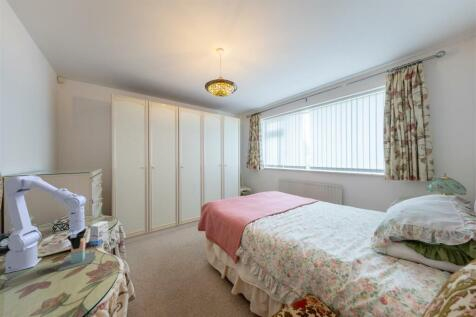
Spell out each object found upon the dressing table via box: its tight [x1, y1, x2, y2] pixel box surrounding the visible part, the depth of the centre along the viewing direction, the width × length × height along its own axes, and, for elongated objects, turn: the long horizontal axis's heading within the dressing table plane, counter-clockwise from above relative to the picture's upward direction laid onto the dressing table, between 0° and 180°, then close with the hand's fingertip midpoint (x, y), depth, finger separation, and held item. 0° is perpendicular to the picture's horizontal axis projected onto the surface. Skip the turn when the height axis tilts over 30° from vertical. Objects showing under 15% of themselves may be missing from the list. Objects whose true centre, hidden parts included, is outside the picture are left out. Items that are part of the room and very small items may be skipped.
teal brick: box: [70, 248, 86, 264], centre depth 90 cm, size 4×4×5 cm
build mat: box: [57, 251, 96, 272], centre depth 90 cm, size 12×12×1 cm
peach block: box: [70, 237, 86, 254], centre depth 90 cm, size 4×4×5 cm
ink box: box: [89, 220, 109, 246], centre depth 110 cm, size 9×5×12 cm, turn 179°
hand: (77, 246), depth 90 cm, fingers closed on peach block, 4 cm apart
